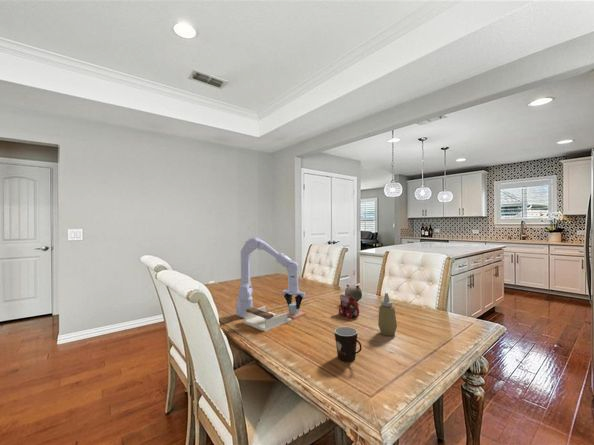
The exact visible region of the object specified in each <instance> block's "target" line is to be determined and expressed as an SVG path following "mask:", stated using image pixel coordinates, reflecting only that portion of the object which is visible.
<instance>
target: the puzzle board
mask: <svg viewBox="0 0 594 445" xmlns="http://www.w3.org/2000/svg"><path fill="white" fill-rule="evenodd" d="M257 309H258V310H261V311H264V312H268V313H271V314H273V317H272V318H270V319H266V318H263V317H260V316H257V315H254V314H251V313H249V312H245V313H244V318H243V319H244V320H242V324H245V325H247V326H250V327H253V328H254V329H257V330H260V331H262V332H268V331H271V330H273V329H275V328H278V327H280V326H282V325H285V324H288V323H290V322H292V320H293V319H292V318H289V317H287V312H288V311H286V312H284V313H280V314H278V313H275V312H271V311H267V306H266V305H264V306H261V307H258V308H257Z"/></svg>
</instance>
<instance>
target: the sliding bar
mask: <svg viewBox="0 0 594 445" xmlns="http://www.w3.org/2000/svg"><path fill="white" fill-rule="evenodd" d="M246 312H249V313H251V314H254V315H257V316H260V317H263V318H266V320H267V319H270V318H272V317H273V314H271V313H268V312H269V311H266V312H264V311H261V310H258V308H255V307H253V308H252V307H251V308H248V309H246Z"/></svg>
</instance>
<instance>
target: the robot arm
mask: <svg viewBox="0 0 594 445" xmlns="http://www.w3.org/2000/svg"><path fill="white" fill-rule="evenodd" d="M244 243H245V244H244V245H243V247H242V248H241V250H240V285H239V291H238V293H237V297H238V299H237V300H236V303H235V308H236V310H235V311H236V313H235V314H234V315H235V316H237V317H240V318H242V319H244V313H245V312H246V309H248V308H251V307H252V308H254V306H253V296H252V295H253V294H254V288H253V287H252V282H251V254H252V253H253V252H254V250H260V251H261V250H262V251H265V252H266V253H267V254H269V255H270V256H272V257H274V258H275V261H276V262H277V263H278V264H279V265H280V266H282V267H283V268H284V269H286V270H287V286H288V287H287V289H283V290H281V292H282V294H283V297H284V299H285V301H286V304H287V307H288V309H289V304H291V303H293V301H292V300H293V299H292V298H293V296H294V300H295V303H296V308H297V309H299V310H300V308H301V303H302V300H304V299H303V298H304V297H306V292H304V291H301V290H299V287H300V286H299V275H298V274H299V272H298V269H299V264H298V262H297V261H295V260H294V259H293V258H290V257H289V256H288V255H287V253H286V252H285V253H284V252H280V253H279V252H278V251H277V250H276V249H275V248H273V247H272V246H271V245H269V244H268V243H267V242H266V241H264V239H263V240H262V239H261V238H260V237H257V236H256V237H251V238H249V239H248V240H246V241H245V242H244Z"/></svg>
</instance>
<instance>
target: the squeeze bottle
mask: <svg viewBox="0 0 594 445" xmlns="http://www.w3.org/2000/svg"><path fill="white" fill-rule="evenodd" d="M380 302H381V303H380V305H379V308H378V310H379V311H378V320H377V322H378V323H377V324H378V328H379V331H380V333H381V335H384V336H388V337H389V336H390V337H391V336H394V335H395V334H396V330H397V328H398V322H397V315H396V309H395V306H393V301H392V300H390V297H389V293H388V292H385V293H384V296H383V299H382V300H381V301H380Z"/></svg>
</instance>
